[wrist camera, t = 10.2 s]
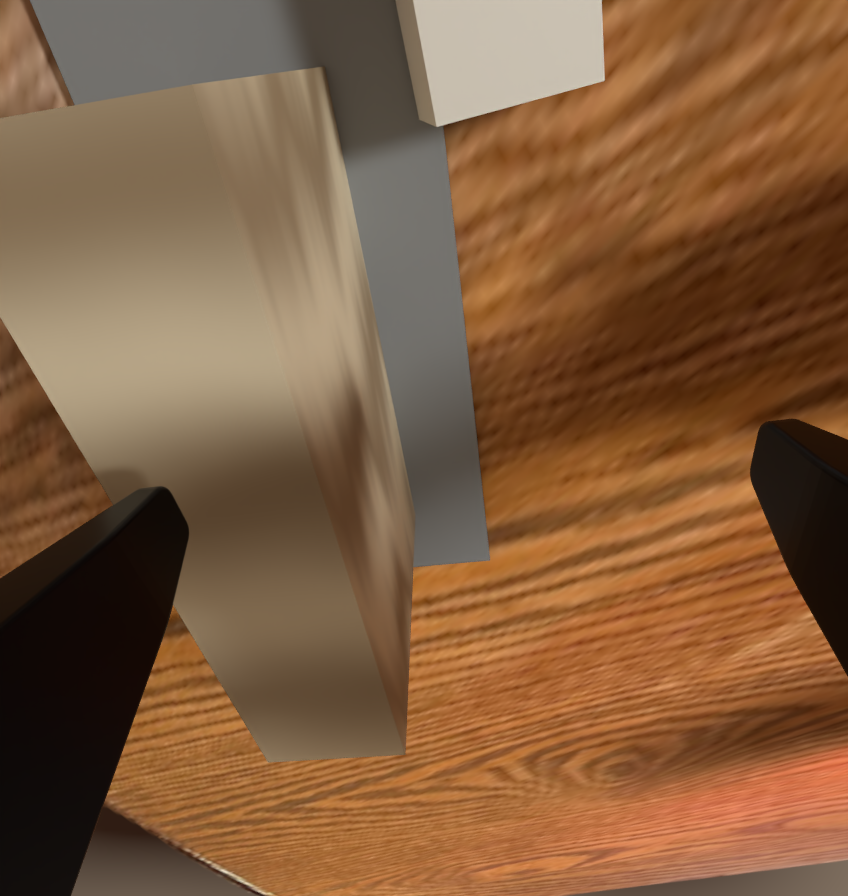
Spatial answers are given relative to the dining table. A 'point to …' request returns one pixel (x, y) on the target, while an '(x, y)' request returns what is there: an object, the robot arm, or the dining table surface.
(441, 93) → the offcut lower
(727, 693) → the dining table surface
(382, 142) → the mat
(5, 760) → the robot arm
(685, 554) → the dining table surface
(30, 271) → the beige brown block
